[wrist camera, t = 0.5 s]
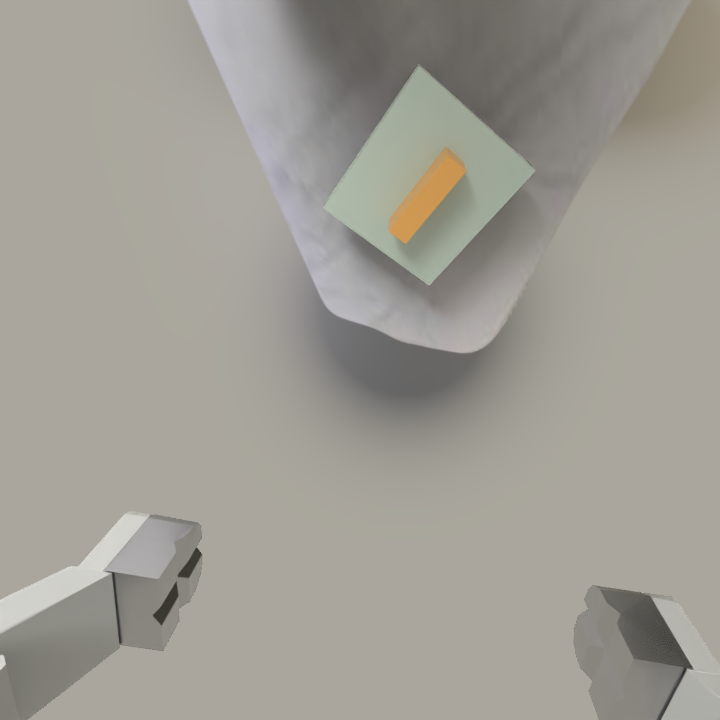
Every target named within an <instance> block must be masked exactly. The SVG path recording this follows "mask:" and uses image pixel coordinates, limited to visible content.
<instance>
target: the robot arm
mask: <svg viewBox="0 0 720 720" xmlns="http://www.w3.org/2000/svg"><path fill="white" fill-rule="evenodd" d="M201 538H202V531H201V525H200V524H199V523H197V522H191V521H187V520H181V519H176V518H171V517H165V516H159V515H151V514H146V513H140V512H135V511H130V512H128V513H126V514H124V515H123V516H122V518H121V519H120V520H119V521H118V522H117V523H116V524H115V525H114V527H113V528H112V529H111V530H110V531H109V532H108V533H107V534H106V536H105V537H104V538H103V539H102V540H101V541H100V542H99V544H98V545H97V546H96V547H95V548H94V549H93V550H92V551H91V553H90V554H89V555H88V556H87V557H86V558H85V559H84V560H83V562H82V563H81V564H80V565H79V566H78V567H73V566H70V567H68V568H65V569H63V570H61V571H59V572H57V573H55V574H53V575H51V576H49V577H47V578H45V579H42V580H40V581H38V582H36V583H35V584H32V585H30V586H28V587H26V588H24V589H22V590H20V591H18V592H16V593H13V594H11V595H9V596H7V597H5V598H3V599H1V600H0V720H28V719H29V718H30V717H32V716H33V715H34V714H35V713H37V712H38V711H39V710H41V709H42V708H43V707H44V706H46V705H47V704H48V703H49V702H51V701H52V700H53V699H55V698H56V697H57V696H59V695H60V694H61V693H62V692H64V691H65V690H66V689H68V688H69V687H70V686H71V685H73V684H74V683H75V682H76V681H78V680H79V679H80V678H82V677H83V676H84V675H85V674H87V673H88V672H89V671H91V670H92V669H93V668H94V667H96V666H97V665H98V664H100V663H101V662H102V661H103V660H105V659H106V658H107V657H109V655H111V654H112V653H114V652H115V651H116V650H118V649H119V648H120V645H124V646H131V647H138V648H145V649H152V650H159V651H163V650H164V648H165V647H166V645H167V643H168V641H169V639H170V637H171V635H172V634H173V632H174V630H175V628H176V626H177V624H178V622H179V608H181V607H182V606H184V605H185V604H187V603H188V602H190V600H191V598H192V596H193V594H194V592H195V590H196V587H197V584H198V581H199V578H200V575H201V569H202V554H201V552H200V551H199V550H198V548H197V545H198V543H199V542H200V540H201ZM584 600H585V602H586V605H587V607H588V610H586V611H585V612H583V613H582V614H580V615H579V616H578V618H577V621H576V624H575V627H574V647H575V652H576V657H577V659H578V662H579V665H580V668H581V669H582V670H583V671H584V672H585V673H586V674H587V675H588V676H589V677H590V679H591V680H592V684H591V686H590V689H589V693H590V696H591V699H592V702H593V704H594V707H595V710H596V713H597V715H598V718H599V720H720V665H719V664H718V662H717V661H716V660H715V658H714V656H713V655H712V653H711V652H710V650H709V649H708V647H707V646H706V644H705V643H704V641H703V639H702V638H701V636H700V635H699V634H698V632H697V631H696V629H695V627H694V626H693V624H692V623H691V621H690V620H689V618H688V617H687V615H686V614H685V612H684V611H683V609H682V608H681V606H680V605H679V603H678V602H677V601H676V600H675V599H673V598H672V597H670V596H663V595H656V594H649V593H641V592H634V591H627V590H621V589H613V588H606V587H601V586H594V585H593V586H592V587H591V588H590V589H589V590H588V591H587V594H586V596H585V599H584Z"/></svg>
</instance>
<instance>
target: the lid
mask: <svg viewBox="0 0 720 720" xmlns="http://www.w3.org/2000/svg"><path fill="white" fill-rule="evenodd" d="M534 172H535V169H534V168H533V167H532V166H531V165H530V163H529V162H528V161H526V160H525V159H524V158H523V157H522V156H521V155H520V154H519V153H518V152H516V151H515V150H514V149H513V148H512V147H511V146H510V145H509V144H508V143H506V142H505V141H504V140H503V139H502V138H501V137H500V136H499V135H498V134H496V133H495V132H494V131H493V130H492V129H491V128H490V127H489V126H487V125H486V124H485V123H484V122H483V121H482V120H481V119H480V118H479V117H477V116H476V115H475V114H474V113H473V112H472V111H471V110H470V109H469V108H467V107H466V106H465V105H464V104H463V103H462V102H461V101H460V100H459V99H457V98H456V97H455V96H454V95H453V94H452V93H451V92H450V91H449V90H447V89H446V88H445V87H444V86H443V85H442V84H441V83H440V82H439V81H437V80H436V79H435V78H434V77H433V76H432V75H431V74H430V73H429V72H427V71H426V70H425V69H424V68H423V67H422V66H421V65H420V64H418V65H417V67H416V68H415V70H414V71H413V73H412V74H411V76H410V77H409V79H408V80H407V82H406V83H405V85H404V86H403V87H402V89H401V90H400V92H399V93H398V95H397V96H396V98H395V99H394V101H393V102H392V104H391V105H390V107H389V108H388V110H387V111H386V113H385V114H384V116H383V117H382V119H381V120H380V122H379V123H378V125H377V126H376V128H375V129H374V131H373V132H372V134H371V135H370V137H369V138H368V140H367V141H366V143H365V144H364V146H363V147H362V148H361V150H360V151H359V153H358V154H357V156H356V157H355V159H354V160H353V162H352V163H351V165H350V166H349V168H348V169H347V171H346V172H345V174H344V175H343V177H342V178H341V180H340V181H339V183H338V184H337V186H336V187H335V189H334V190H333V192H332V193H331V195H330V196H329V198H328V199H327V201H326V203H325V205H324V208H323V209H324V210H325V211H327V212H328V213H329V214H331V215H332V216H334V217H335V218H336V219H338V220H339V221H340V222H342V223H343V224H345V225H346V226H347V227H349V228H350V229H351V230H353V231H354V232H356V233H357V234H358V235H360V236H361V237H363V238H364V239H365V240H367V241H368V242H369V243H371V244H372V245H374V246H375V247H376V248H378V249H379V250H380V251H382V252H383V253H385V254H386V255H387V256H389V257H390V258H391V259H393V260H394V261H396V262H397V263H398V264H400V265H401V266H402V267H404V268H405V269H407V270H408V271H409V272H411V273H412V274H413V275H415V276H416V277H418V278H419V279H420V280H422V281H423V282H424V283H426V284H427V285H429V286H430V284H431V283H432V282H433V281H434V280H435V279H436V278H437V277H438V276H439V275H440V274H441V273H442V272H443V270H444V269H445V268H446V267H447V266H448V265H449V264H450V263H451V262H452V261H453V260H454V259H455V257H456V256H457V255H458V254H459V253H460V252H461V251H462V250H463V249H464V248H465V247H466V246H467V245H468V243H469V242H470V241H471V240H472V239H473V238H474V237H475V236H476V235H477V234H478V233H479V232H480V231H481V229H482V228H483V227H484V226H485V225H486V224H487V223H488V222H489V221H490V220H491V219H492V218H493V217H494V215H495V214H496V213H497V212H498V211H499V210H500V209H501V208H502V207H503V206H504V205H505V204H506V203H507V201H508V200H509V199H510V198H511V197H512V196H513V195H514V194H515V193H516V192H517V191H518V190H519V188H520V187H521V186H522V185H523V184H524V183H525V182H526V181H527V180H528V179H529V178H530V177H531V176H532V174H533V173H534Z"/></svg>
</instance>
